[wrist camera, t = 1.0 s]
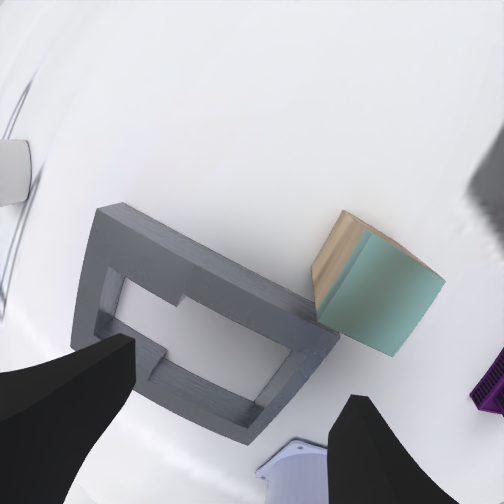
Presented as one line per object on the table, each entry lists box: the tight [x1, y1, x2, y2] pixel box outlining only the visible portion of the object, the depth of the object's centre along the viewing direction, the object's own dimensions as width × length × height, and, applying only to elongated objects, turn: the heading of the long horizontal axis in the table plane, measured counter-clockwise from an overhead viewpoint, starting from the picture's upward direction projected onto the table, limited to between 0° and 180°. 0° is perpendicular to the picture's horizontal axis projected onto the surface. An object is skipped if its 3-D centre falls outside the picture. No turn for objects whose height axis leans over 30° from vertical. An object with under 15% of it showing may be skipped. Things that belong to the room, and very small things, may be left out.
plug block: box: [311, 210, 446, 357], centre depth 14 cm, size 4×4×7 cm
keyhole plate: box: [70, 202, 340, 446], centre depth 19 cm, size 16×12×3 cm
